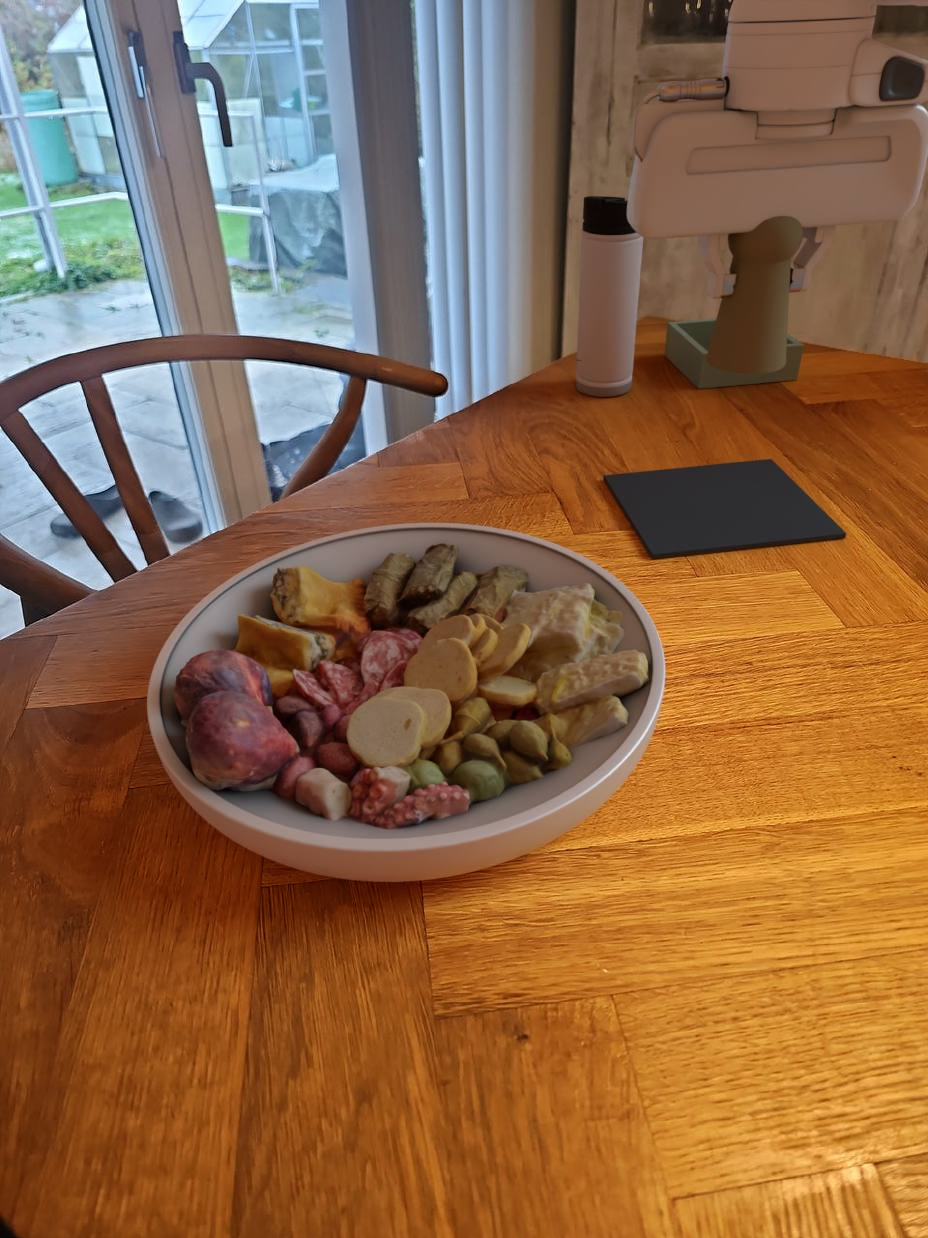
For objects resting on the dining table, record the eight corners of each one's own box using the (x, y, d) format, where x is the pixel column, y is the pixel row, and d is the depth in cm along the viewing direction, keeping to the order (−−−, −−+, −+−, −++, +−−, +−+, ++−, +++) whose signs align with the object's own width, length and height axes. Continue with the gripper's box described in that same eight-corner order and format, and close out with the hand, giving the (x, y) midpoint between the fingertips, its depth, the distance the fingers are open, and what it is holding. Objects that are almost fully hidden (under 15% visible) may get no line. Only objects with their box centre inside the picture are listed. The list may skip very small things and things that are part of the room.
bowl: (428, 537, 70) (421, 449, 66) (754, 701, 53) (776, 596, 48) (81, 716, 54) (40, 616, 49) (385, 1044, 36) (365, 935, 31)
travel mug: (562, 389, 96) (567, 194, 84) (599, 373, 99) (610, 184, 88) (605, 403, 92) (617, 201, 80) (642, 386, 96) (659, 190, 84)
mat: (770, 463, 79) (771, 458, 79) (845, 538, 68) (847, 533, 67) (603, 480, 78) (603, 474, 77) (651, 559, 66) (652, 554, 66)
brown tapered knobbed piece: (691, 363, 66) (709, 209, 60) (729, 342, 70) (750, 195, 63) (762, 379, 63) (790, 219, 56) (799, 357, 66) (829, 203, 60)
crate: (754, 347, 105) (760, 314, 102) (797, 380, 96) (804, 344, 93) (664, 355, 104) (667, 321, 101) (698, 389, 94) (702, 353, 92)
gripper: (652, 86, 52) (634, 316, 60) (965, 67, 54) (907, 293, 62) (622, 79, 57) (609, 292, 65) (909, 62, 59) (862, 272, 67)
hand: (756, 293), depth 63 cm, fingers closed on brown tapered knobbed piece, 4 cm apart
